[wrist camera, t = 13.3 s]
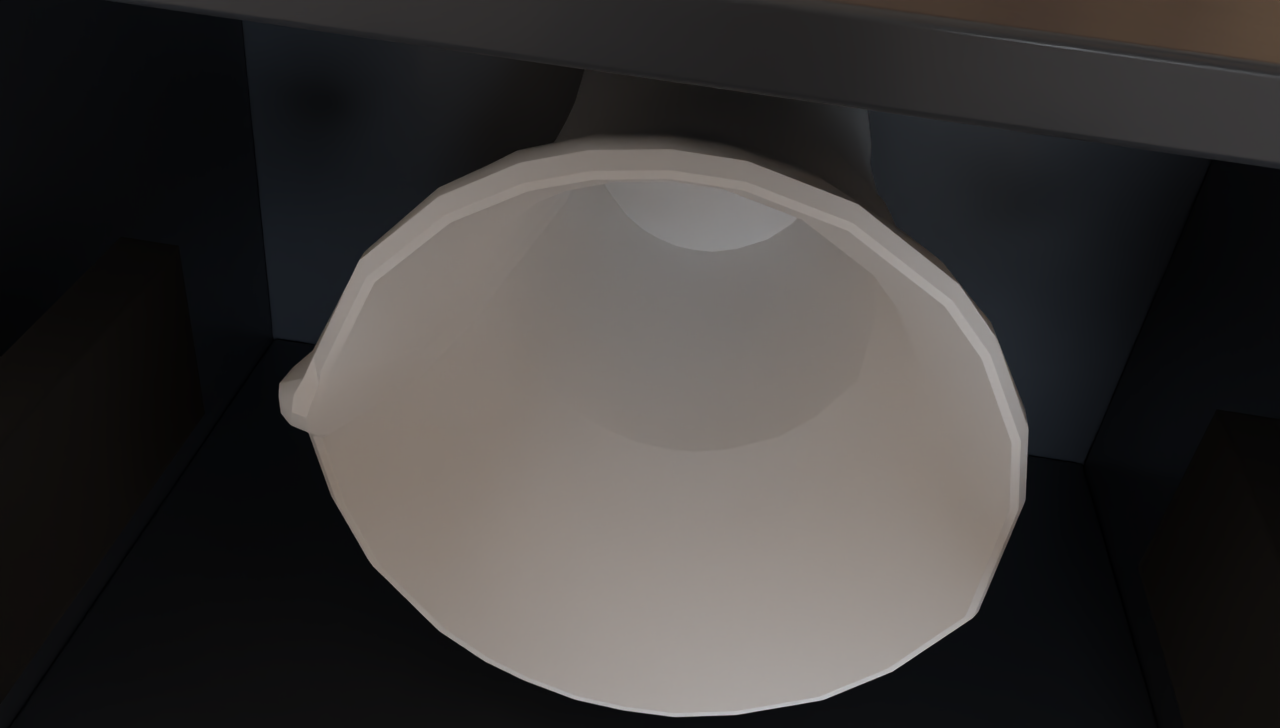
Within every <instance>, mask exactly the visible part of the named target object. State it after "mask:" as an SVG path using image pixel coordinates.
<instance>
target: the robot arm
mask: <svg viewBox="0 0 1280 728" xmlns="http://www.w3.org/2000/svg"><path fill="white" fill-rule="evenodd" d="M204 414H205V411H204V405H203V398H202V392H201V385H200V379H199V372H198V366H197V359H196V353H195V347H194V340H193V334H192V327H191V321H190V314H189V308H188V302H187V295H186V289H185V282H184V276H183V269H182V263H181V257H180V250H179V246H177V245H171V244H165V243H158V242H152V241H146V240H139V239H133V238H126V237H120V238H119V239H118V240H117V241H116V242H115V243H114V244H113V245H112V246H111V247H110V248H109V249H108V250H107V251H106V252H105V253H104V254H103V255H102V256H101V257H100V258H99V259H98V260H97V261H96V262H95V263H94V264H93V265H92V266H91V267H90V268H89V269H88V270H87V271H86V272H85V273H84V274H83V275H82V276H81V277H80V278H79V279H78V280H77V281H76V282H75V283H74V284H73V285H72V286H71V287H70V288H69V289H68V290H67V291H66V292H65V293H64V294H63V295H62V296H61V297H60V298H59V299H58V300H57V301H56V302H55V303H54V304H53V305H52V306H51V307H50V308H49V309H48V310H47V311H46V312H45V313H44V314H43V315H42V316H41V317H40V318H39V319H38V320H37V321H36V322H35V323H34V324H33V325H32V326H31V327H30V328H29V329H28V330H27V331H26V332H25V333H24V334H23V335H22V336H21V337H20V338H19V339H18V340H17V341H16V342H15V343H14V344H13V345H12V346H11V347H10V348H9V349H8V350H7V351H6V352H5V353H4V354H3V355H2V356H1V357H0V704H1V703H2V701H3V700H4V698H5V697H6V695H7V694H8V693H9V691H10V690H11V688H12V687H13V685H14V684H15V683H16V681H17V680H18V678H19V677H20V676H21V674H22V673H23V671H24V670H25V668H26V667H27V666H28V664H29V663H30V661H31V660H32V658H33V657H34V656H35V654H36V653H37V651H38V650H39V649H40V647H41V646H42V644H43V643H44V641H45V640H46V639H47V637H48V636H49V634H50V633H51V632H52V630H53V629H54V627H55V626H56V624H57V623H58V622H59V620H60V619H61V617H62V616H63V614H64V613H65V612H66V610H67V609H68V607H69V606H70V605H71V603H72V602H73V600H74V599H75V597H76V596H77V595H78V593H79V592H80V590H81V589H82V587H83V586H84V585H85V583H86V582H87V580H88V579H89V578H90V576H91V575H92V573H93V572H94V570H95V569H96V568H97V566H98V565H99V563H100V562H101V560H102V559H103V558H104V556H105V555H106V553H107V552H108V551H109V549H110V548H111V546H112V545H113V543H114V542H115V541H116V539H117V538H118V536H119V535H120V533H121V532H122V531H123V529H124V528H125V526H126V525H127V524H128V522H129V521H130V519H131V518H132V516H133V515H134V514H135V512H136V511H137V509H138V508H139V506H140V505H141V504H142V502H143V501H144V499H145V498H146V497H147V495H148V494H149V492H150V491H151V489H152V488H153V487H154V485H155V484H156V482H157V481H158V480H159V478H160V477H161V475H162V474H163V472H164V471H165V470H166V468H167V467H168V465H169V464H170V462H171V461H172V460H173V458H174V457H175V455H176V454H177V453H178V451H179V450H180V448H181V447H182V445H183V444H184V443H185V441H186V440H187V438H188V437H189V435H190V434H191V433H192V431H193V430H194V428H195V427H196V426H197V424H198V423H199V421H200V420H201V418H202V417H203V416H204ZM1138 570H1139V574H1140V577H1141V580H1142V584H1143V587H1144V591H1145V594H1146V598H1147V601H1148V604H1149V608H1150V611H1151V615H1152V618H1153V622H1154V625H1155V628H1156V632H1157V635H1158V639H1159V642H1160V646H1161V649H1162V652H1163V656H1164V659H1165V663H1166V666H1167V670H1168V673H1169V676H1170V680H1171V683H1172V687H1173V690H1174V694H1175V697H1176V700H1177V704H1178V707H1179V711H1180V714H1181V718H1182V721H1183V724H1184V728H1280V419H1275V418H1269V417H1263V416H1256V415H1250V414H1244V413H1237V412H1231V411H1224V410H1218V409H1216V411H1215V413H1214V415H1213V417H1212V419H1211V421H1210V423H1209V425H1208V427H1207V429H1206V431H1205V433H1204V435H1203V437H1202V439H1201V441H1200V443H1199V445H1198V447H1197V449H1196V451H1195V453H1194V455H1193V457H1192V459H1191V461H1190V463H1189V465H1188V467H1187V469H1186V471H1185V473H1184V475H1183V477H1182V479H1181V481H1180V483H1179V485H1178V487H1177V489H1176V491H1175V493H1174V495H1173V497H1172V499H1171V501H1170V503H1169V505H1168V507H1167V509H1166V511H1165V513H1164V515H1163V517H1162V519H1161V521H1160V523H1159V525H1158V527H1157V529H1156V531H1155V533H1154V535H1153V537H1152V539H1151V541H1150V543H1149V545H1148V547H1147V549H1146V551H1145V553H1144V555H1143V557H1142V559H1141V561H1140V563H1139V565H1138Z"/></svg>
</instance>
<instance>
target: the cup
mask: <svg viewBox="0 0 1280 728" xmlns="http://www.w3.org/2000/svg"><path fill="white" fill-rule="evenodd" d="M870 159H871V138H870V127H869V119H868V112H867V110H865V109H858V108H851V107H844V106H837V105H830V104H823V103H816V102H809V101H802V100H795V99H788V98H781V97H774V96H767V95H760V94H753V93H746V92H739V91H732V90H726V89H719V88H712V87H705V86H698V85H691V84H684V83H677V82H670V81H663V80H656V79H649V78H642V77H635V76H628V75H621V74H614V73H607V72H600V71H593V70H586V69H585V70H584V73H583V77H582V80H581V84H580V87H579V90H578V94H577V97H576V101H575V103H574V106H573V108H572V110H571V112H570V114H569V116H568V118H567V120H566V122H565V124H564V126H563V128H562V129H561V131H560V133H559V135H558V137H557V138H556V140H555V141H554V143H549V144H545V145H540V146H535V147H531V148H526V149H521V150H517V151H515V152H513V153H511V154H509V155H507V156H505V157H503V158H501V159H499V160H497V161H495V162H493V163H491V164H489V165H487V166H485V167H483V168H481V169H478V170H476V171H474V172H472V173H470V174H467V175H465V176H463V177H461V178H459V179H457V180H454V181H452V182H450V183H448V184H446V185H443V186H441V187H439V188H437V189H436V190H435V191H434V192H433V193H432V194H430V195H429V196H428V197H427V198H426V199H425V200H424V201H422V202H421V203H420V204H419V205H418V206H417V207H415V208H414V209H413V210H412V211H411V212H410V213H409V214H407V215H406V216H405V217H404V218H403V219H402V220H400V221H399V222H398V223H397V224H396V225H395V226H394V227H392V228H391V229H390V230H389V231H388V232H387V233H385V234H384V235H383V236H382V237H381V238H380V239H379V240H377V241H376V242H375V243H374V244H373V245H372V246H370V247H369V248H368V249H367V250H366V251H365V252H364V253H363V255H362V256H361V258H360V260H359V262H358V264H357V266H356V268H355V270H354V272H353V274H352V276H351V278H350V280H349V282H348V284H347V286H346V288H345V290H344V292H343V294H342V295H341V297H340V299H339V301H338V303H337V305H336V307H335V309H334V311H333V313H332V315H331V317H330V318H329V320H328V322H327V324H326V326H325V328H324V330H323V332H322V334H321V336H320V338H319V339H318V341H317V343H316V345H315V347H314V349H313V351H312V352H310V353H309V354H308V355H307V356H306V357H304V358H303V359H302V360H301V361H300V362H299V363H297V364H296V365H295V366H294V367H293V368H292V369H291V370H290V371H289V373H288V374H287V375H286V376H285V377H284V378H283V380H282V381H281V382H280V383H279V403H280V411H281V414H282V415H283V417H284V418H285V419H286V420H287V421H288V423H289V424H290V425H291V426H294V427H296V428H299V429H301V430H303V431H306V432H308V433H309V436H310V439H311V441H312V444H313V447H314V450H315V452H316V455H317V458H318V461H319V464H320V466H321V469H322V472H323V475H324V477H325V480H326V483H327V486H328V489H329V491H330V494H331V496H332V498H333V500H334V502H335V503H336V505H337V507H338V509H339V510H340V512H341V514H342V515H343V517H344V519H345V521H346V522H347V524H348V526H349V528H350V529H351V531H352V533H353V534H354V536H355V538H356V540H357V541H358V543H359V545H360V547H361V548H362V550H363V552H364V554H365V555H366V557H367V559H368V560H369V561H370V563H371V564H372V566H373V567H374V568H375V569H376V570H377V571H378V572H379V573H380V574H381V575H382V576H383V577H384V578H385V579H387V580H388V581H389V582H390V583H391V584H392V585H393V586H394V587H395V588H396V589H397V590H398V591H399V592H400V593H401V594H402V595H403V596H404V597H405V598H406V599H407V600H408V601H409V602H410V603H411V604H412V605H413V606H414V607H415V608H416V609H417V610H418V611H419V612H420V613H421V614H422V615H423V616H424V617H425V618H426V619H427V620H428V621H429V622H430V623H431V624H432V625H433V626H434V627H435V628H436V629H438V630H439V631H440V632H441V633H443V634H444V635H446V636H447V637H449V638H450V639H452V640H453V641H455V642H456V643H458V644H459V645H461V646H462V647H464V648H465V649H467V650H468V651H470V652H471V653H473V654H474V655H476V656H477V657H479V658H481V659H482V660H484V661H485V662H487V663H489V664H491V665H493V666H495V667H497V668H499V669H501V670H503V671H506V672H508V673H510V674H512V675H514V676H516V677H518V678H520V679H522V680H524V681H527V682H529V683H532V684H535V685H537V686H540V687H543V688H545V689H548V690H551V691H553V692H556V693H559V694H561V695H564V696H566V697H569V698H572V699H574V700H579V701H583V702H588V703H592V704H597V705H601V706H606V707H610V708H615V709H619V710H624V711H632V712H639V713H647V714H655V715H662V716H670V717H691V716H719V715H739V714H745V713H750V712H756V711H762V710H768V709H774V708H780V707H786V706H792V705H798V704H804V703H809V702H815V701H821V700H824V699H827V698H829V697H832V696H834V695H837V694H839V693H842V692H844V691H846V690H849V689H851V688H854V687H856V686H859V685H861V684H864V683H866V682H868V681H871V680H873V679H876V678H878V677H881V676H883V675H886V674H888V673H890V672H893V671H894V670H896V669H897V668H899V667H900V666H902V665H903V664H905V663H906V662H908V661H909V660H911V659H912V658H914V657H915V656H917V655H918V654H920V653H921V652H923V651H924V650H926V649H927V648H929V647H930V646H932V645H933V644H935V643H936V642H938V641H939V640H941V639H942V638H944V637H945V636H947V635H948V634H950V633H951V632H953V631H954V630H956V629H957V628H959V627H960V626H962V625H963V624H965V623H966V622H968V621H969V620H971V619H972V618H973V617H974V616H975V615H976V614H977V613H978V611H979V609H980V607H981V604H982V602H983V600H984V597H985V595H986V593H987V590H988V588H989V586H990V583H991V581H992V578H993V576H994V574H995V571H996V569H997V567H998V564H999V562H1000V560H1001V557H1002V555H1003V552H1004V550H1005V548H1006V545H1007V543H1008V541H1009V538H1010V536H1011V534H1012V531H1013V529H1014V526H1015V524H1016V522H1017V519H1018V517H1019V515H1020V512H1021V510H1022V508H1023V505H1024V503H1025V500H1026V477H1027V453H1028V424H1027V418H1026V412H1025V408H1024V406H1023V403H1022V400H1021V398H1020V395H1019V393H1018V390H1017V388H1016V385H1015V383H1014V380H1013V377H1012V375H1011V372H1010V370H1009V367H1008V365H1007V362H1006V360H1005V357H1004V354H1003V352H1002V349H1001V347H1000V344H999V342H998V339H997V337H996V334H995V331H994V329H993V326H992V324H991V322H990V321H989V319H988V318H987V317H986V316H985V314H984V313H983V312H982V311H981V309H980V308H979V307H978V306H977V304H976V303H975V302H974V301H973V300H972V298H971V297H970V296H969V295H968V293H967V292H966V291H965V290H964V288H963V287H962V286H961V285H960V283H959V282H958V281H957V280H956V279H955V277H954V276H953V275H952V274H951V272H950V271H949V270H948V269H947V267H946V266H945V265H944V264H943V262H942V261H940V260H939V259H938V258H937V257H935V256H934V255H933V254H932V253H930V252H929V251H928V250H927V249H925V248H924V247H923V246H921V245H920V244H919V243H917V242H916V241H915V240H914V239H912V238H911V237H910V236H908V235H907V234H906V233H904V232H903V231H902V230H900V229H899V228H897V227H896V225H895V223H894V221H893V219H892V216H891V214H890V212H889V210H888V208H887V205H886V203H885V202H884V200H883V199H882V198H881V197H880V196H879V195H878V193H877V190H876V186H875V182H874V178H873V175H872V171H871V165H870Z"/></svg>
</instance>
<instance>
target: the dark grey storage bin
mask: <svg viewBox="0 0 1280 728" xmlns="http://www.w3.org/2000/svg"><path fill="white" fill-rule="evenodd" d="M585 69H586V70H593V71H600V72H607V73H614V74H621V75H628V76H635V77H642V78H649V79H656V80H663V81H670V82H677V83H684V84H691V85H698V86H705V87H712V88H719V89H726V90H732V91H739V92H746V93H753V94H760V95H767V96H774V97H781V98H788V99H795V100H802V101H809V102H816V103H823V104H830V105H837V106H844V107H851V108H858V109H865V110H867V112H868V119H869V127H870V138H871V159H870V165H871V171H872V175H873V178H874V182H875V186H876V190H877V193H878V195H879V196H880V197H881V198H882V199H883V200H884V202H885V203H886V205H887V208H888V210H889V212H890V214H891V216H892V219H893V221H894V223H895V225H896V227H897V228H899V229H900V230H902V231H903V232H904V233H906V234H907V235H908V236H910V237H911V238H912V239H914V240H915V241H916V242H917V243H919V244H920V245H921V246H923V247H924V248H925V249H927V250H928V251H929V252H930V253H932V254H933V255H934V256H935V257H937V258H938V259H939V260H940V261H942V262H943V264H944V265H945V266H946V267H947V269H948V270H949V271H950V272H951V274H952V275H953V276H954V277H955V279H956V280H957V281H958V282H959V283H960V285H961V286H962V287H963V288H964V290H965V291H966V292H967V293H968V295H969V296H970V297H971V298H972V300H973V301H974V302H975V303H976V304H977V306H978V307H979V308H980V309H981V311H982V312H983V313H984V314H985V316H986V317H987V318H988V319H989V321H990V322H991V324H992V326H993V329H994V331H995V334H996V337H997V339H998V342H999V344H1000V347H1001V349H1002V352H1003V354H1004V357H1005V360H1006V362H1007V365H1008V367H1009V370H1010V372H1011V375H1012V377H1013V380H1014V383H1015V385H1016V388H1017V390H1018V393H1019V395H1020V398H1021V400H1022V403H1023V406H1024V408H1025V412H1026V418H1027V424H1028V453H1027V477H1026V500H1025V503H1024V505H1023V508H1022V510H1021V512H1020V515H1019V517H1018V519H1017V522H1016V524H1015V526H1014V529H1013V531H1012V534H1011V536H1010V538H1009V541H1008V543H1007V545H1006V548H1005V550H1004V552H1003V555H1002V557H1001V560H1000V562H999V564H998V567H997V569H996V571H995V574H994V576H993V578H992V581H991V583H990V586H989V588H988V590H987V593H986V595H985V597H984V600H983V602H982V604H981V607H980V609H979V611H978V613H977V614H976V615H975V616H974V617H973V618H972V619H971V620H969V621H968V622H966V623H965V624H963V625H962V626H960V627H959V628H957V629H956V630H954V631H953V632H951V633H950V634H948V635H947V636H945V637H944V638H942V639H941V640H939V641H938V642H936V643H935V644H933V645H932V646H930V647H929V648H927V649H926V650H924V651H923V652H921V653H920V654H918V655H917V656H915V657H914V658H912V659H911V660H909V661H908V662H906V663H905V664H903V665H902V666H900V667H899V668H897V669H896V670H894V671H893V672H890V673H888V674H886V675H883V676H881V677H878V678H876V679H873V680H871V681H868V682H866V683H864V684H861V685H859V686H856V687H854V688H851V689H849V690H846V691H844V692H842V693H839V694H837V695H834V696H832V697H829V698H827V699H824V700H821V701H815V702H809V703H804V704H798V705H792V706H786V707H780V708H774V709H768V710H762V711H756V712H750V713H745V714H739V715H719V716H691V717H670V716H662V715H655V714H647V713H639V712H632V711H624V710H619V709H615V708H610V707H606V706H601V705H597V704H592V703H588V702H583V701H579V700H574V699H572V698H569V697H566V696H564V695H561V694H559V693H556V692H553V691H551V690H548V689H545V688H543V687H540V686H537V685H535V684H532V683H529V682H527V681H524V680H522V679H520V678H518V677H516V676H514V675H512V674H510V673H508V672H506V671H503V670H501V669H499V668H497V667H495V666H493V665H491V664H489V663H487V662H485V661H484V660H482V659H481V658H479V657H477V656H476V655H474V654H473V653H471V652H470V651H468V650H467V649H465V648H464V647H462V646H461V645H459V644H458V643H456V642H455V641H453V640H452V639H450V638H449V637H447V636H446V635H444V634H443V633H441V632H440V631H439V630H438V629H436V628H435V627H434V626H433V625H432V624H431V623H430V622H429V621H428V620H427V619H426V618H425V617H424V616H423V615H422V614H421V613H420V612H419V611H418V610H417V609H416V608H415V607H414V606H413V605H412V604H411V603H410V602H409V601H408V600H407V599H406V598H405V597H404V596H403V595H402V594H401V593H400V592H399V591H398V590H397V589H396V588H395V587H394V586H393V585H392V584H391V583H390V582H389V581H388V580H387V579H385V578H384V577H383V576H382V575H381V574H380V573H379V572H378V571H377V570H376V569H375V568H374V567H373V566H372V564H371V563H370V561H369V560H368V559H367V557H366V555H365V554H364V552H363V550H362V548H361V547H360V545H359V543H358V541H357V540H356V538H355V536H354V534H353V533H352V531H351V529H350V528H349V526H348V524H347V522H346V521H345V519H344V517H343V515H342V514H341V512H340V510H339V509H338V507H337V505H336V503H335V502H334V500H333V498H332V496H331V494H330V491H329V489H328V486H327V483H326V480H325V477H324V475H323V472H322V469H321V466H320V464H319V461H318V458H317V455H316V452H315V450H314V447H313V444H312V441H311V439H310V436H309V433H308V432H306V431H303V430H301V429H299V428H296V427H294V426H291V425H290V424H289V423H288V421H287V420H286V419H285V418H284V417H283V415H282V414H281V411H280V403H279V383H280V382H281V381H282V380H283V378H284V377H285V376H286V375H287V374H288V373H289V371H290V370H291V369H292V368H293V367H294V366H295V365H296V364H297V363H299V362H300V361H301V360H302V359H303V358H304V357H306V356H307V355H308V354H309V353H310V352H312V351H313V349H314V347H315V345H316V343H317V341H318V339H319V338H320V336H321V334H322V332H323V330H324V328H325V326H326V324H327V322H328V320H329V318H330V317H331V315H332V313H333V311H334V309H335V307H336V305H337V303H338V301H339V299H340V297H341V295H342V294H343V292H344V290H345V288H346V286H347V284H348V282H349V280H350V278H351V276H352V274H353V272H354V270H355V268H356V266H357V264H358V262H359V260H360V258H361V256H362V255H363V253H364V252H365V251H366V250H367V249H368V248H369V247H370V246H372V245H373V244H374V243H375V242H376V241H377V240H379V239H380V238H381V237H382V236H383V235H384V234H385V233H387V232H388V231H389V230H390V229H391V228H392V227H394V226H395V225H396V224H397V223H398V222H399V221H400V220H402V219H403V218H404V217H405V216H406V215H407V214H409V213H410V212H411V211H412V210H413V209H414V208H415V207H417V206H418V205H419V204H420V203H421V202H422V201H424V200H425V199H426V198H427V197H428V196H429V195H430V194H432V193H433V192H434V191H435V190H436V189H437V188H439V187H441V186H443V185H446V184H448V183H450V182H452V181H454V180H457V179H459V178H461V177H463V176H465V175H467V174H470V173H472V172H474V171H476V170H478V169H481V168H483V167H485V166H487V165H489V164H491V163H493V162H495V161H497V160H499V159H501V158H503V157H505V156H507V155H509V154H511V153H513V152H515V151H517V150H521V149H526V148H531V147H535V146H540V145H545V144H549V143H554V141H555V140H556V138H557V137H558V135H559V133H560V131H561V129H562V128H563V126H564V124H565V122H566V120H567V118H568V116H569V114H570V112H571V110H572V108H573V106H574V103H575V101H576V97H577V94H578V90H579V87H580V84H581V80H582V77H583V73H584V70H585ZM120 237H126V238H133V239H139V240H146V241H152V242H158V243H165V244H171V245H177V246H179V250H180V257H181V263H182V269H183V276H184V282H185V289H186V295H187V302H188V308H189V314H190V321H191V327H192V334H193V340H194V347H195V353H196V359H197V366H198V372H199V379H200V385H201V392H202V398H203V405H204V411H205V414H204V416H203V417H202V418H201V420H200V421H199V423H198V424H197V426H196V427H195V428H194V430H193V431H192V433H191V434H190V435H189V437H188V438H187V440H186V441H185V443H184V444H183V445H182V447H181V448H180V450H179V451H178V453H177V454H176V455H175V457H174V458H173V460H172V461H171V462H170V464H169V465H168V467H167V468H166V470H165V471H164V472H163V474H162V475H161V477H160V478H159V480H158V481H157V482H156V484H155V485H154V487H153V488H152V489H151V491H150V492H149V494H148V495H147V497H146V498H145V499H144V501H143V502H142V504H141V505H140V506H139V508H138V509H137V511H136V512H135V514H134V515H133V516H132V518H131V519H130V521H129V522H128V524H127V525H126V526H125V528H124V529H123V531H122V532H121V533H120V535H119V536H118V538H117V539H116V541H115V542H114V543H113V545H112V546H111V548H110V549H109V551H108V552H107V553H106V555H105V556H104V558H103V559H102V560H101V562H100V563H99V565H98V566H97V568H96V569H95V570H94V572H93V573H92V575H91V576H90V578H89V579H88V580H87V582H86V583H85V585H84V586H83V587H82V589H81V590H80V592H79V593H78V595H77V596H76V597H75V599H74V600H73V602H72V603H71V605H70V606H69V607H68V609H67V610H66V612H65V613H64V614H63V616H62V617H61V619H60V620H59V622H58V623H57V624H56V626H55V627H54V629H53V630H52V632H51V633H50V634H49V636H48V637H47V639H46V640H45V641H44V643H43V644H42V646H41V647H40V649H39V650H38V651H37V653H36V654H35V656H34V657H33V658H32V660H31V661H30V663H29V664H28V666H27V667H26V668H25V670H24V671H23V673H22V674H21V676H20V677H19V678H18V680H17V681H16V683H15V684H14V685H13V687H12V688H11V690H10V691H9V693H8V694H7V695H6V697H5V698H4V700H3V701H2V703H1V704H0V728H1184V724H1183V721H1182V718H1181V714H1180V711H1179V707H1178V704H1177V700H1176V697H1175V694H1174V690H1173V687H1172V683H1171V680H1170V676H1169V673H1168V670H1167V666H1166V663H1165V659H1164V656H1163V652H1162V649H1161V646H1160V642H1159V639H1158V635H1157V632H1156V628H1155V625H1154V622H1153V618H1152V615H1151V611H1150V608H1149V604H1148V601H1147V598H1146V594H1145V591H1144V587H1143V584H1142V580H1141V577H1140V574H1139V570H1138V565H1139V563H1140V561H1141V559H1142V557H1143V555H1144V553H1145V551H1146V549H1147V547H1148V545H1149V543H1150V541H1151V539H1152V537H1153V535H1154V533H1155V531H1156V529H1157V527H1158V525H1159V523H1160V521H1161V519H1162V517H1163V515H1164V513H1165V511H1166V509H1167V507H1168V505H1169V503H1170V501H1171V499H1172V497H1173V495H1174V493H1175V491H1176V489H1177V487H1178V485H1179V483H1180V481H1181V479H1182V477H1183V475H1184V473H1185V471H1186V469H1187V467H1188V465H1189V463H1190V461H1191V459H1192V457H1193V455H1194V453H1195V451H1196V449H1197V447H1198V445H1199V443H1200V441H1201V439H1202V437H1203V435H1204V433H1205V431H1206V429H1207V427H1208V425H1209V423H1210V421H1211V419H1212V417H1213V415H1214V413H1215V411H1216V409H1218V410H1224V411H1231V412H1237V413H1244V414H1250V415H1256V416H1263V417H1269V418H1275V419H1280V0H0V357H1V356H2V355H3V354H4V353H5V352H6V351H7V350H8V349H9V348H10V347H11V346H12V345H13V344H14V343H15V342H16V341H17V340H18V339H19V338H20V337H21V336H22V335H23V334H24V333H25V332H26V331H27V330H28V329H29V328H30V327H31V326H32V325H33V324H34V323H35V322H36V321H37V320H38V319H39V318H40V317H41V316H42V315H43V314H44V313H45V312H46V311H47V310H48V309H49V308H50V307H51V306H52V305H53V304H54V303H55V302H56V301H57V300H58V299H59V298H60V297H61V296H62V295H63V294H64V293H65V292H66V291H67V290H68V289H69V288H70V287H71V286H72V285H73V284H74V283H75V282H76V281H77V280H78V279H79V278H80V277H81V276H82V275H83V274H84V273H85V272H86V271H87V270H88V269H89V268H90V267H91V266H92V265H93V264H94V263H95V262H96V261H97V260H98V259H99V258H100V257H101V256H102V255H103V254H104V253H105V252H106V251H107V250H108V249H109V248H110V247H111V246H112V245H113V244H114V243H115V242H116V241H117V240H118V239H119V238H120Z"/></svg>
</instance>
